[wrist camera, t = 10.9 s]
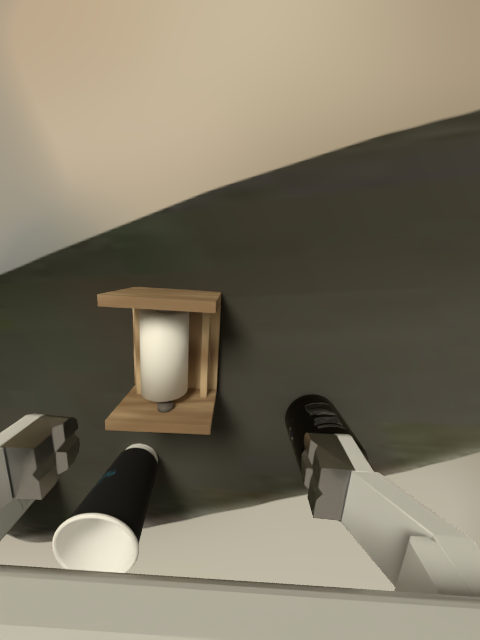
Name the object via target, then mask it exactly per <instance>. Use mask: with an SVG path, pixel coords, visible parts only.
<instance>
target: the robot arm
mask: <svg viewBox="0 0 480 640" xmlns="http://www.w3.org/2000/svg"><path fill="white" fill-rule="evenodd" d="M77 429H78V424H77V419H75V418H73V417H64V416H53V415H40V414H30V415H26V416H24V417H23V418H21V419H20V420H19V421H17V422H16V423H14V424H13V425H11V426H10V427H8V428H7V429H5V430H4V431H3V432H1V433H0V509H1V508H2V507H4V506H5V505H7V504H8V503H10V502H11V501H13V499H35V500H42V499H43V498H44V496H45V495H46V494H47V493H48V492H49V491H50V489H51V488H52V487H53V486H54V485H55V484H56V483H57V481H58V475H59V474H60V473H62V472H64V471H65V470H67V469H69V467H70V466H71V465H72V464H73V462H74V461H75V459H76V457H77V455H78V452H79V447H80V442H79V438H78V437H77V436H76V434H75V431H76V430H77ZM304 446H305V449H306V450H305V451H304V452H303V453H302V458H301V472H302V478H303V482H304V485H305V486H306V487H307V488H308V489H309V491H308V500H309V504H310V507H311V511H312V515H313V518H320V519H330V520H340V521H341V522H342V524H343V525H344V526H345V527H346V528H347V530H348V531H349V532H350V533H351V534H352V536H353V537H354V538H355V539H356V540H357V542H358V543H359V544H360V545H361V546H362V548H363V549H364V550H365V551H366V552H367V554H368V555H369V556H370V557H371V558H372V560H373V561H374V562H375V563H376V564H377V565H378V567H379V568H380V569H381V570H382V572H383V573H384V574H385V575H386V576H387V578H388V579H389V580H390V581H391V582H392V583H393V585H394V586H395V587H396V588H395V591H382V590H367V589H352V588H338V587H323V586H309V585H294V584H279V583H264V582H248V581H234V580H217V579H203V578H189V577H173V576H159V575H145V574H130V573H115V572H101V571H86V570H72V569H57V568H42V567H27V566H12V565H0V640H480V548H479V547H478V546H477V545H476V544H475V542H474V541H473V540H472V539H471V538H470V537H469V536H467V535H466V534H464V533H463V532H462V531H460V530H458V529H457V528H456V527H454V526H453V525H452V524H450V523H449V522H447V521H446V520H445V519H443V518H442V517H440V516H439V515H438V514H436V513H435V512H433V511H432V510H431V509H429V508H428V507H426V506H425V505H424V504H422V503H421V502H419V501H418V500H417V499H415V498H413V497H412V496H411V495H410V494H408V493H407V492H405V491H404V490H402V489H401V488H400V487H398V486H397V485H395V484H394V483H393V482H391V481H390V480H389V479H387V478H386V477H384V476H383V475H381V474H380V473H378V472H374V471H373V470H372V468H371V467H370V465H369V463H368V462H367V460H366V459H365V457H364V455H363V454H362V452H361V451H360V449H359V448H358V446H357V444H356V443H355V441H354V440H353V438H352V436H350V435H349V434H319V433H306V434H305V436H304Z"/></svg>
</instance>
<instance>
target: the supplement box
mask: <svg viewBox="0 0 480 640" xmlns="http://www.w3.org/2000/svg"><path fill="white" fill-rule="evenodd" d="M34 501H35V499H13V501H11V502H10V503H8V504H7V505H5V506H4V507H2V508H1V509H0V541H1V539H2V538H3V537H4V536H5V535H6V534H7V533H8V531H9V530H10V529H11V528H12V527H13V525H14V524H15V523H16V522H17V521H18V520H19V518H20V517H21V516H22V515H23V514H24V513H25V511H26V510H27V509H28V508H29V507H30V505H31V504H32V503H33V502H34Z"/></svg>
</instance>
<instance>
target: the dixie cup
mask: <svg viewBox="0 0 480 640" xmlns="http://www.w3.org/2000/svg"><path fill="white" fill-rule="evenodd" d="M157 462H158V457H157V454H156V452H155V451H154V450H153V449H152V448H151V447H149V446H147V445H144V444H134V445H131V446H129V447H128V448H127V449H126V450H125V451H123V452H122V453H121V454H120V455H119V456H118V457H117V459H116V460H115V461H114V462H113V464H112V465H111V466H110V467H109V469H108V470H107V471H106V472H105V474H104V475H103V476H102V478H101V479H100V480H99V481H98V483H97V484H96V485H95V486H94V488H93V489H92V490H91V491H90V493H89V494H88V495H87V496H86V498H85V499H84V500H83V501H82V503H81V504H80V505H79V506H78V508H77V509H76V510H75V511H74V513H73V514H72V515H71V516H70V518H69V519H67V520H66V521H65V522H63V523H62V524H61V525H60V526H59V527H58V529H57V530H56V532H55V534H54V537H53V540H52V548H53V553H54V555H55V558H56V560H57V561H58V563H59V564H60V565H61V566H62V567H63V568H64V569H72V570H86V571H101V572H115V573H126V572H128V571H129V570H130V569H131V568H132V567H133V566H134V564H135V562H136V560H137V558H138V553H139V539H140V536H141V532H142V528H143V524H144V520H145V516H146V512H147V508H148V504H149V500H150V496H151V492H152V488H153V485H154V481H155V477H156V473H157V468H158V464H157Z"/></svg>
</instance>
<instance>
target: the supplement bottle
mask: <svg viewBox="0 0 480 640" xmlns="http://www.w3.org/2000/svg"><path fill="white" fill-rule="evenodd" d="M285 423H286V427H287V431H288V434H289V437H290V440H291V443H292V446H293V450H294V453H295V456H296V459H297V462H298V465H299V468H300V471H301V458H302V453H303V452H304V451H305V450H306V449H305V446H304V436H305V434H306V433H319V434H349V435H350V436H352V438H353V440H354V441H355V443H356V444H357V446H358V448H359V449H360V451H361V452H362V454H363V455H364V457H365V459H366V460H367V462H368V457H367V454H366V452H365V450H364V448H363V447H362V445H361V444H360V442H359V441H358V439H357V438H356V437H355V435H354V434H353V432H352V431H351V429H350V428H349V427H348V425H347V424H346V422H345V421H344V419H343V418H342V417H341V415H340V414H339V412H338V411H337V409H336V408H335V407H334V405H333V404H332V403H331V402H330V401H329V400H328V399H326V398H325V397H322V396H320V395H313V394H311V395H305V396H302V397H299V398H298V399H296V400H295V401H293V402H292V403H291V405H290V406H289V407H288V409H287V412H286V415H285ZM301 474H302V472H301ZM338 521H340V520H338ZM340 522H341V521H340Z"/></svg>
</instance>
